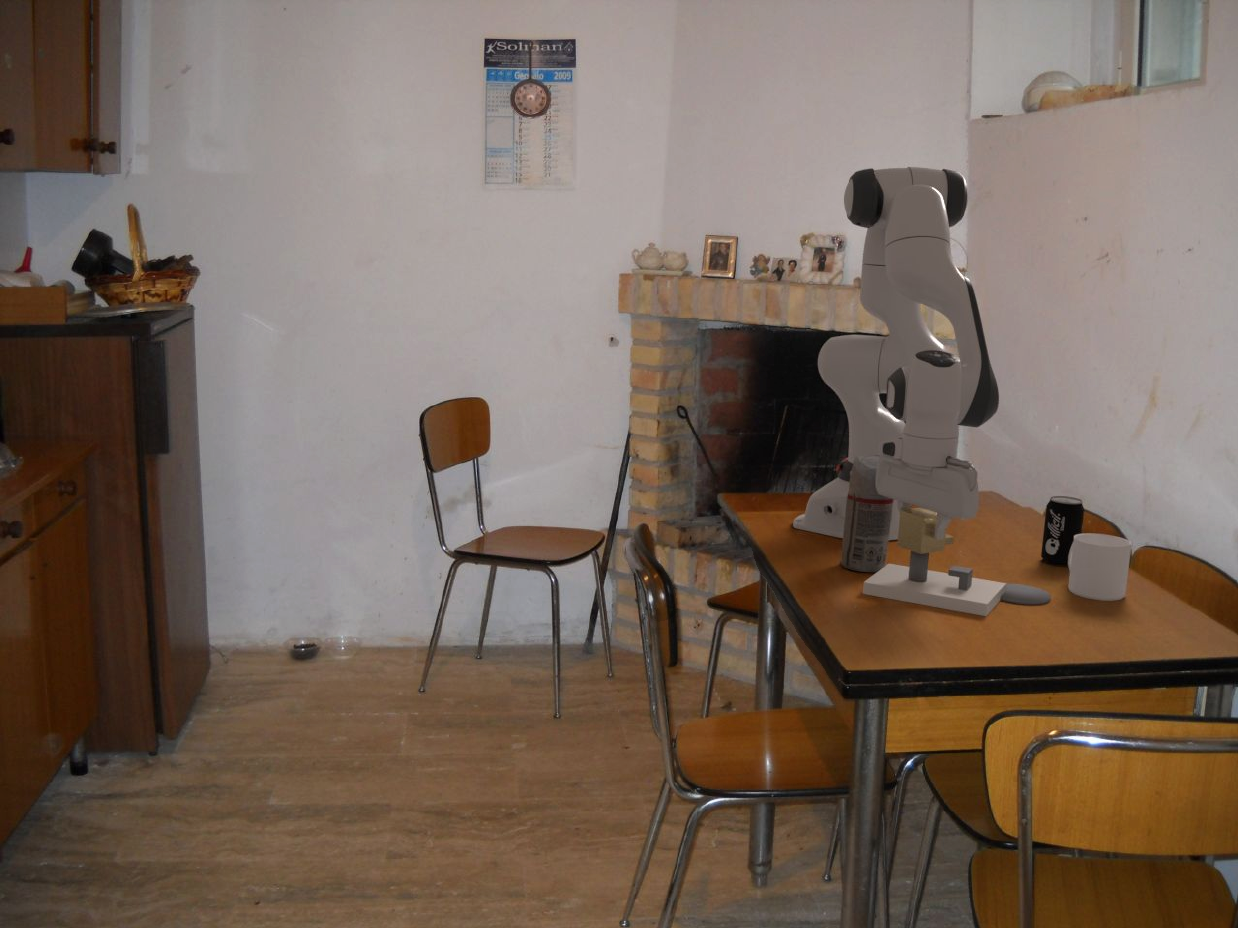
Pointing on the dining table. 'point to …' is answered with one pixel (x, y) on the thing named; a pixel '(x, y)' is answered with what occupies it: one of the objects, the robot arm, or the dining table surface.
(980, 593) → the base
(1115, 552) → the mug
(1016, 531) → the dining table surface
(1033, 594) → the slate coaster
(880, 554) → the spray can
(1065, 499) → the beverage can
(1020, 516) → the dining table surface
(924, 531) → the tan wooden block
